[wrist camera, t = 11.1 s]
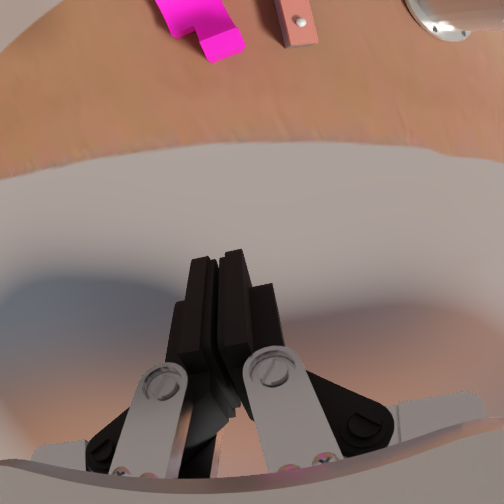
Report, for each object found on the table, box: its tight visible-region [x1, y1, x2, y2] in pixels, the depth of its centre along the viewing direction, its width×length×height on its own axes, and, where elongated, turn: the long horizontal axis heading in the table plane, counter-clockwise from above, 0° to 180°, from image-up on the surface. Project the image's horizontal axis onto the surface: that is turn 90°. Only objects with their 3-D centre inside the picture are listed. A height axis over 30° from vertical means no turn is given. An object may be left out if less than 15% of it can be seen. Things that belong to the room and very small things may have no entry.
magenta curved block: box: [155, 0, 245, 63], centre depth 24 cm, size 15×6×8 cm, turn 21°
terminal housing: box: [274, 0, 319, 49], centre depth 26 cm, size 3×9×4 cm, turn 12°
